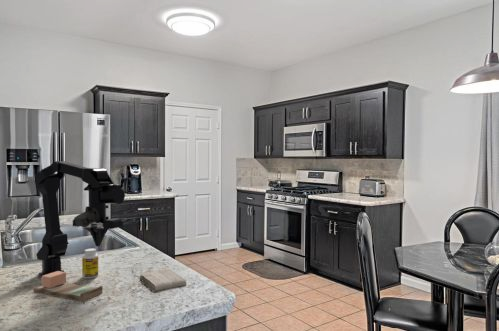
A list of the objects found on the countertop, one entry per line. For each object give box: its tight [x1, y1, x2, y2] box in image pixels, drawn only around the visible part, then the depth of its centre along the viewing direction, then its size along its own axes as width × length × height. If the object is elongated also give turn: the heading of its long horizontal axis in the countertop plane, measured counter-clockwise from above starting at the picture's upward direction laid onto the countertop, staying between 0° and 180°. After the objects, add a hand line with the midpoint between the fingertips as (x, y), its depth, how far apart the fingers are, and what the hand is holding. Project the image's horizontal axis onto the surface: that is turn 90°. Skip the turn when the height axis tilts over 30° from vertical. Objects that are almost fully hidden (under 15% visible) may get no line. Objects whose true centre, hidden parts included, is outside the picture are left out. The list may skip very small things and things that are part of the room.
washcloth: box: [139, 267, 187, 292], centre depth 131 cm, size 12×18×3 cm, turn 35°
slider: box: [41, 271, 67, 288], centre depth 123 cm, size 4×6×4 cm, turn 157°
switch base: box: [33, 282, 104, 302], centre depth 120 cm, size 22×8×2 cm, turn 67°
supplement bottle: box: [81, 248, 99, 279], centre depth 136 cm, size 6×6×10 cm
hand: (97, 246), depth 131 cm, fingers closed
